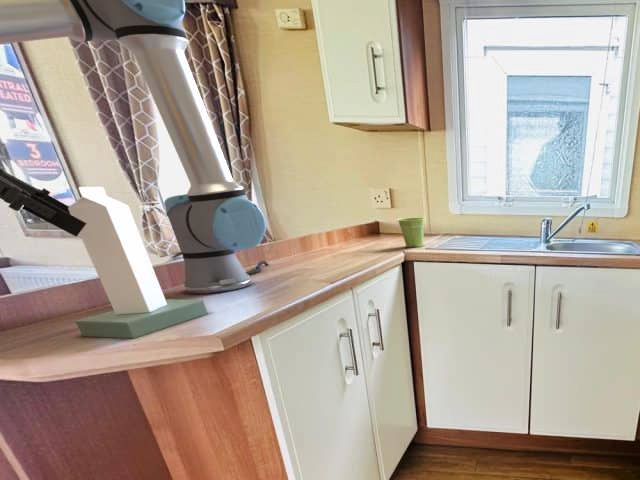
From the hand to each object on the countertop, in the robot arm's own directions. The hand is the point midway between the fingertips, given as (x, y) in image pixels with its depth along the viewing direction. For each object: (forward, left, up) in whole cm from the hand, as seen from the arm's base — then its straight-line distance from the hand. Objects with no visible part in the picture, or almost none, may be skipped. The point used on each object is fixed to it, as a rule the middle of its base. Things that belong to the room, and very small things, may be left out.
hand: (86, 228), depth 75 cm
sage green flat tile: (-2, +2, -18) cm, 19 cm away
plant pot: (-115, +10, -19) cm, 117 cm away
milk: (-2, +2, -16) cm, 16 cm away
